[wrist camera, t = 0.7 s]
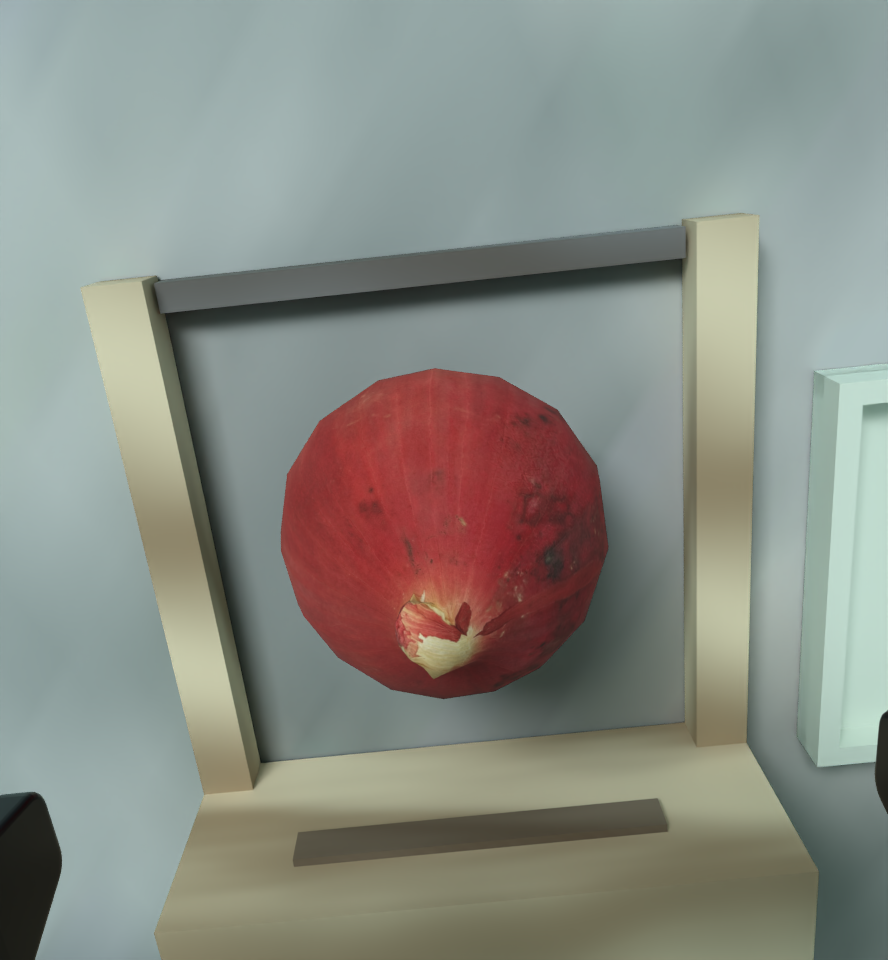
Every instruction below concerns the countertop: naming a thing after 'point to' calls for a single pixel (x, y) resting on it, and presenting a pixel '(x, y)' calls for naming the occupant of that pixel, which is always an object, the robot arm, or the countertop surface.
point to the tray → (846, 569)
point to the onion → (444, 532)
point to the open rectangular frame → (481, 765)
